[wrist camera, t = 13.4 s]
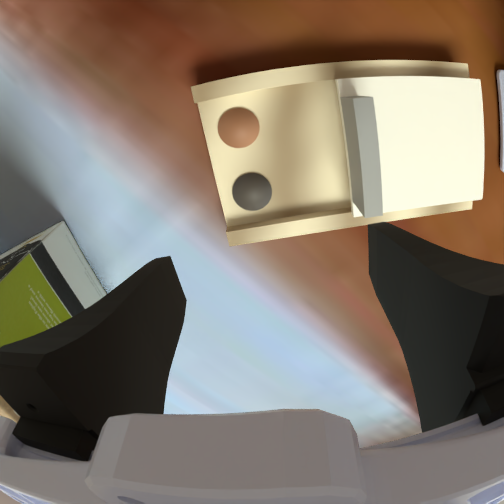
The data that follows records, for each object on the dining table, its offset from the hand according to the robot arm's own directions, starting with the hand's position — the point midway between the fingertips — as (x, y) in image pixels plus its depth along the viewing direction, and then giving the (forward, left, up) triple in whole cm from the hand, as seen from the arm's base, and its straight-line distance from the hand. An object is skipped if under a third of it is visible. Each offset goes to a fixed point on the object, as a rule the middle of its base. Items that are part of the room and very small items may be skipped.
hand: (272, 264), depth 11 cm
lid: (-9, -2, -8) cm, 12 cm away
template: (-6, -2, -10) cm, 11 cm away
